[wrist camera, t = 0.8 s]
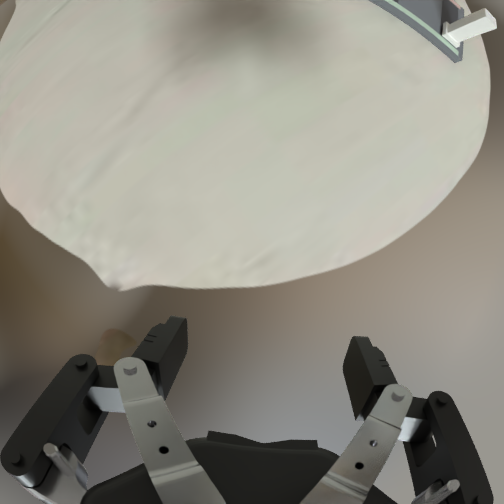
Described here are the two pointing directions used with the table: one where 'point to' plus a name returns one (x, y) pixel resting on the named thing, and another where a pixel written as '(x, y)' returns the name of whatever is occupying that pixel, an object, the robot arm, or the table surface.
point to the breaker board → (440, 22)
